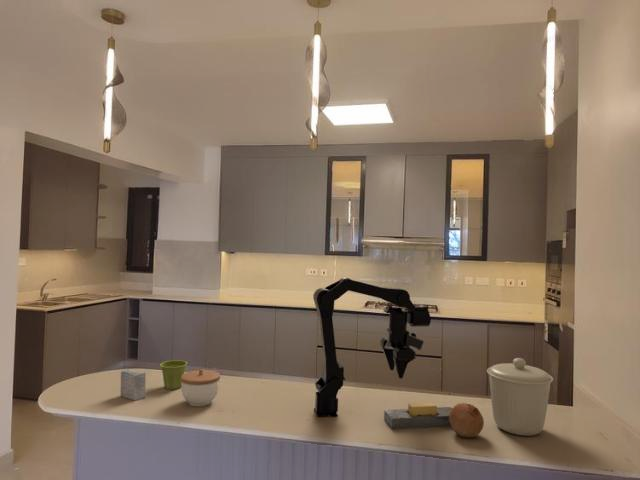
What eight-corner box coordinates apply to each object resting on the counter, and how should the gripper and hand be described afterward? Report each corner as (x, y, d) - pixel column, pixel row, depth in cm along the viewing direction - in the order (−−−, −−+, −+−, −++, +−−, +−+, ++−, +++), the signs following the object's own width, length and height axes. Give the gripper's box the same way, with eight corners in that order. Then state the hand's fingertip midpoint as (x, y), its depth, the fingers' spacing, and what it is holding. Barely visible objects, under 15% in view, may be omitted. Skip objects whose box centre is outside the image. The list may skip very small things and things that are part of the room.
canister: (561, 445, 122) (563, 368, 123) (492, 438, 126) (494, 364, 126) (540, 419, 140) (542, 353, 140) (480, 414, 143) (482, 349, 143)
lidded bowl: (200, 412, 140) (200, 377, 140) (172, 404, 146) (172, 370, 146) (227, 400, 151) (228, 368, 151) (200, 393, 157) (200, 362, 157)
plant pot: (179, 392, 158) (180, 367, 158) (154, 390, 159) (155, 366, 159) (190, 384, 167) (191, 361, 167) (167, 382, 168) (167, 359, 168)
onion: (478, 449, 125) (494, 423, 122) (448, 440, 125) (462, 414, 121) (469, 424, 134) (483, 399, 131) (440, 416, 133) (453, 390, 130)
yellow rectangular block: (411, 424, 134) (412, 407, 134) (407, 420, 137) (408, 403, 137) (436, 423, 135) (436, 405, 135) (432, 419, 138) (432, 402, 138)
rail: (391, 429, 131) (391, 418, 131) (384, 419, 137) (384, 409, 137) (461, 425, 134) (461, 415, 134) (450, 416, 141) (450, 406, 141)
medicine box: (145, 397, 152) (146, 372, 152) (134, 401, 148) (134, 375, 148) (131, 392, 156) (132, 368, 156) (119, 396, 152) (120, 371, 152)
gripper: (432, 332, 138) (430, 382, 138) (411, 321, 157) (409, 366, 156) (397, 332, 136) (396, 383, 136) (380, 321, 155) (379, 366, 155)
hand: (396, 374), depth 146 cm, fingers open, 9 cm apart
